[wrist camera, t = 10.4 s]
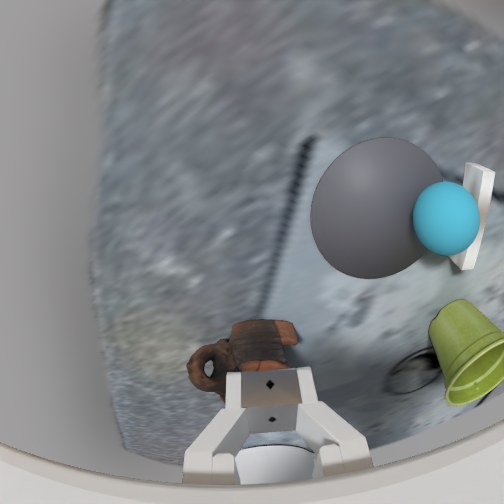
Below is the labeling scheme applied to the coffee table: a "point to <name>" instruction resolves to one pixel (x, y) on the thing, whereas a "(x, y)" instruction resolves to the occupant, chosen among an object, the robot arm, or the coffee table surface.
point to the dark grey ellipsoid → (372, 207)
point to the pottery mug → (242, 353)
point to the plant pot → (467, 352)
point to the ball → (446, 218)
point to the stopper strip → (480, 188)
